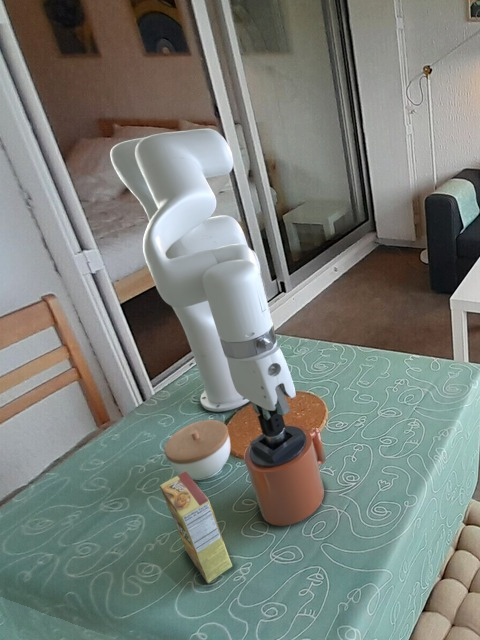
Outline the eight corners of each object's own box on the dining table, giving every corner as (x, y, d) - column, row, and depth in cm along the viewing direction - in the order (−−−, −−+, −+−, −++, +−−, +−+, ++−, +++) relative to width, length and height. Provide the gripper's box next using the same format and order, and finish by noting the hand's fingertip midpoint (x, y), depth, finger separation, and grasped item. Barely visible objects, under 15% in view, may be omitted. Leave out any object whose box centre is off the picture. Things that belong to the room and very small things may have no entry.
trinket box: (169, 495, 93) (153, 458, 89) (184, 454, 103) (170, 418, 98) (231, 482, 96) (218, 446, 92) (241, 443, 105) (230, 408, 101)
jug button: (263, 445, 86) (259, 432, 84) (279, 434, 88) (276, 421, 87) (275, 453, 84) (271, 439, 83) (291, 441, 86) (288, 428, 85)
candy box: (185, 551, 83) (156, 486, 76) (211, 534, 86) (186, 469, 79) (208, 585, 78) (179, 518, 71) (235, 565, 81) (210, 499, 74)
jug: (248, 508, 91) (227, 446, 84) (308, 459, 101) (294, 400, 94) (287, 536, 85) (268, 473, 79) (347, 481, 96) (335, 421, 89)
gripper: (301, 341, 76) (321, 433, 84) (242, 316, 83) (266, 403, 91) (257, 366, 70) (283, 462, 78) (197, 337, 77) (227, 428, 85)
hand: (274, 430), depth 85 cm, fingers closed
